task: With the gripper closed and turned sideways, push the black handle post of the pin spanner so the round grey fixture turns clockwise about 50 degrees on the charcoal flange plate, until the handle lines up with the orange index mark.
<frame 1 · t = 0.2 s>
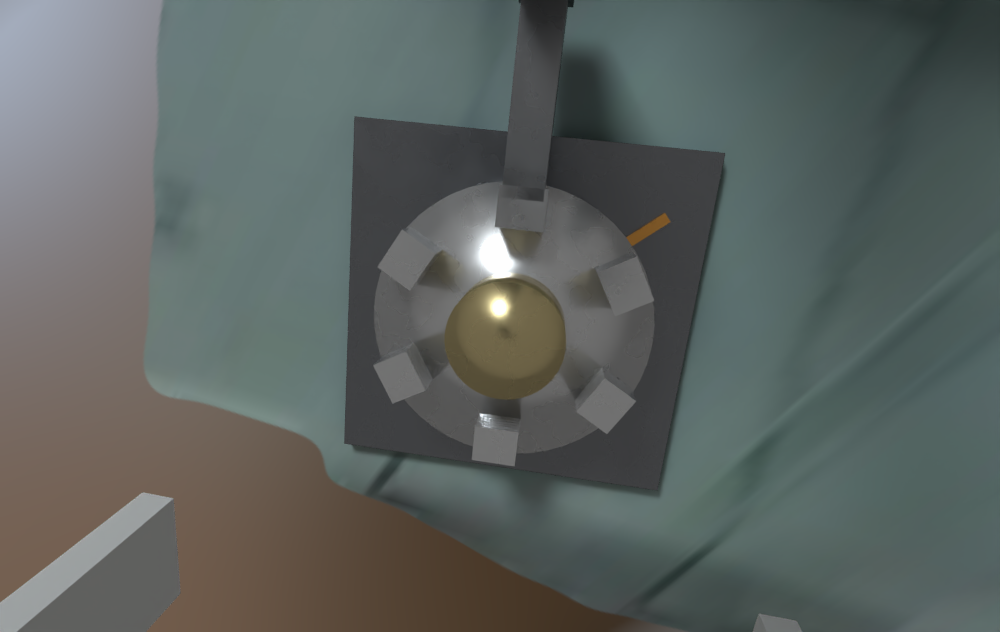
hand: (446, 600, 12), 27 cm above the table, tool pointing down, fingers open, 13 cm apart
flange plate: (515, 310, 38), on the table
round grey fixture: (512, 237, 26), point 10 cm above the table, hinge at 0.0°
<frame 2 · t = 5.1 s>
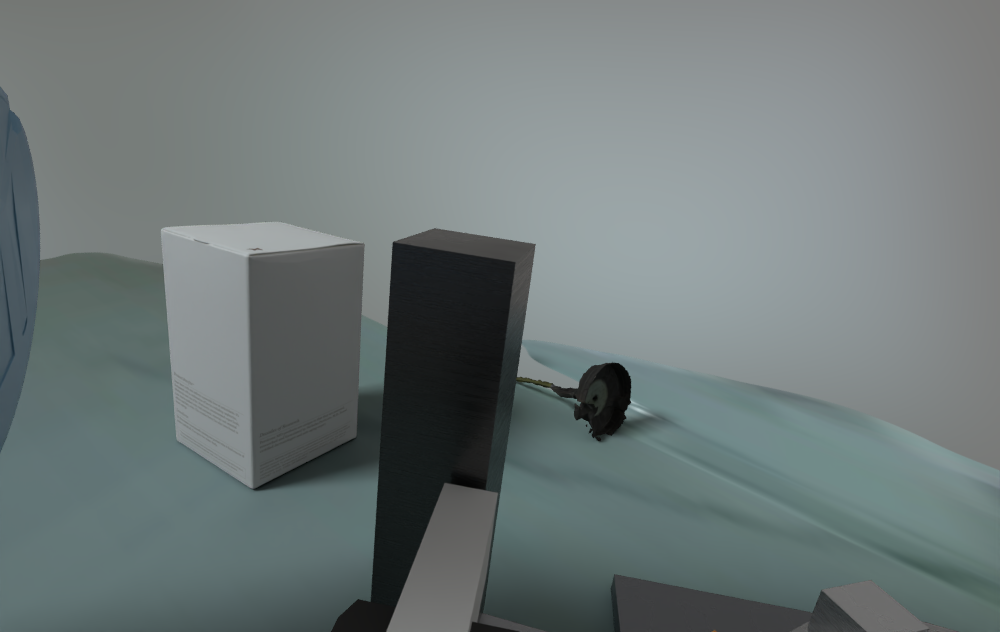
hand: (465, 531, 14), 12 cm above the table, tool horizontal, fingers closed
artificial flower: (502, 393, 51), on the table
supplement box: (270, 441, 38), on the table
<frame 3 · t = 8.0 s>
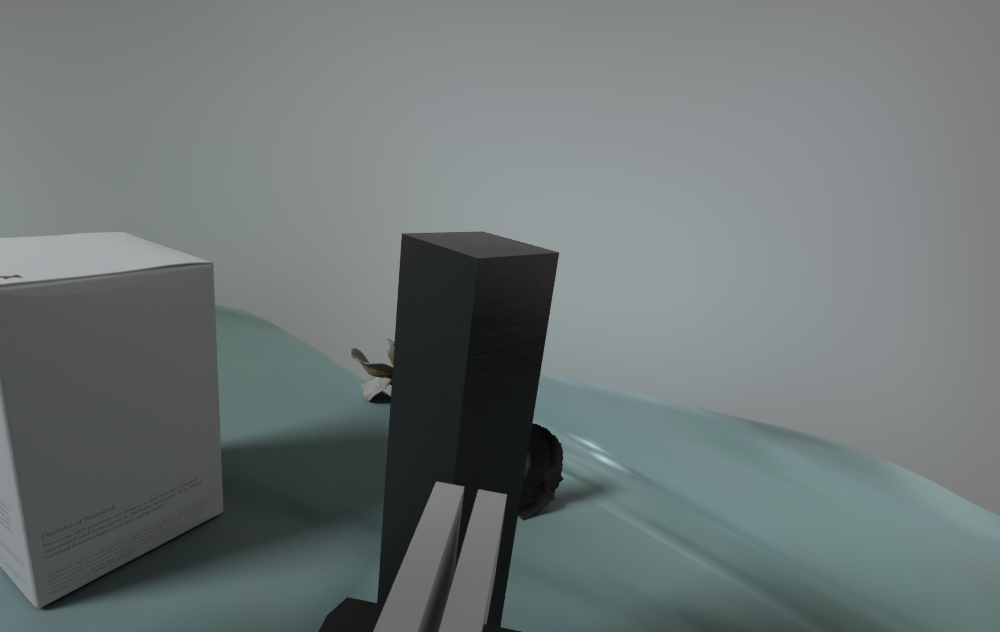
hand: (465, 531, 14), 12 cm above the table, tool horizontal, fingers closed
artificial flower: (429, 439, 41), on the table
supplement box: (103, 521, 29), on the table
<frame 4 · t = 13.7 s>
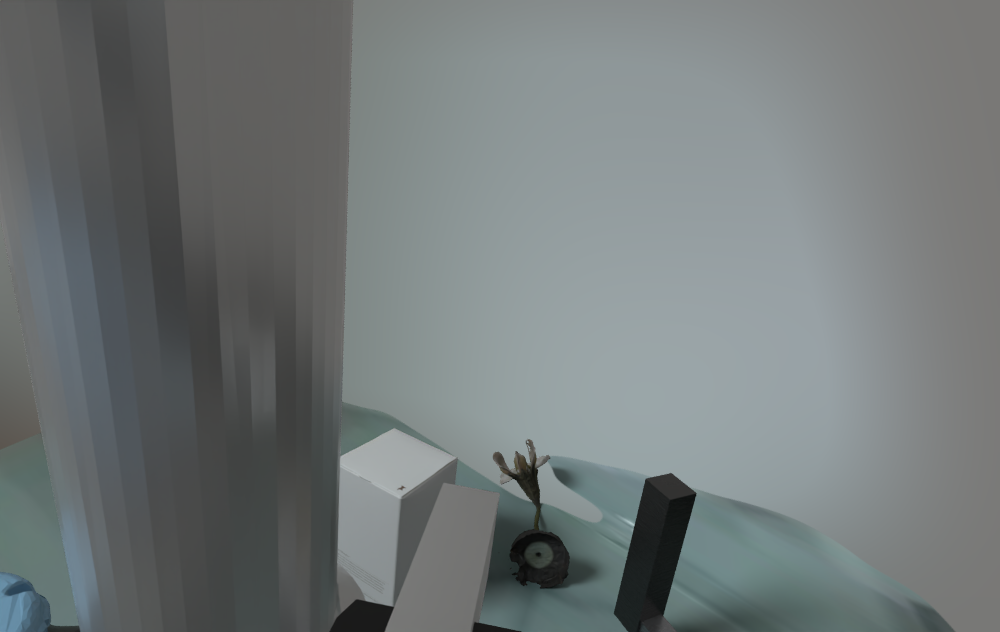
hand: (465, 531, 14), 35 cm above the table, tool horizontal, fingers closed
artificial flower: (522, 521, 68), on the table
supplement box: (388, 581, 56), on the table
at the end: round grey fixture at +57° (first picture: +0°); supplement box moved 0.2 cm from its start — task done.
